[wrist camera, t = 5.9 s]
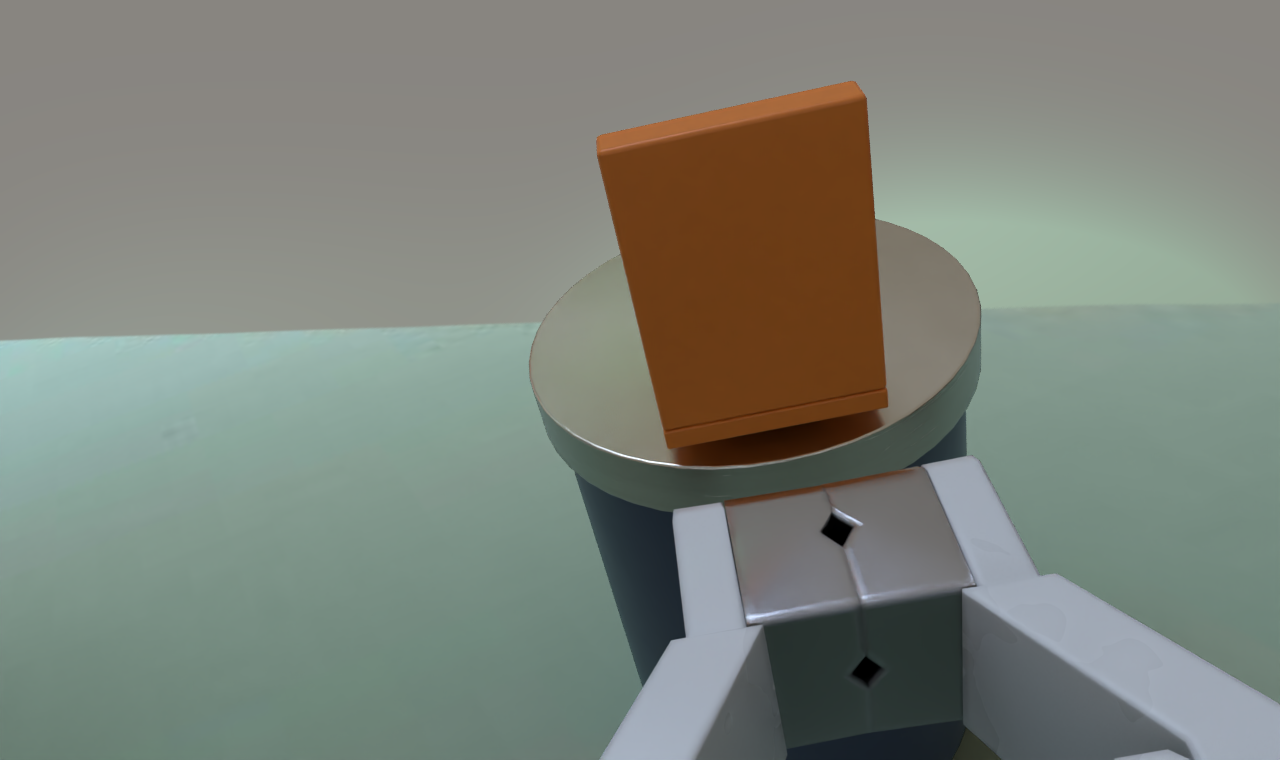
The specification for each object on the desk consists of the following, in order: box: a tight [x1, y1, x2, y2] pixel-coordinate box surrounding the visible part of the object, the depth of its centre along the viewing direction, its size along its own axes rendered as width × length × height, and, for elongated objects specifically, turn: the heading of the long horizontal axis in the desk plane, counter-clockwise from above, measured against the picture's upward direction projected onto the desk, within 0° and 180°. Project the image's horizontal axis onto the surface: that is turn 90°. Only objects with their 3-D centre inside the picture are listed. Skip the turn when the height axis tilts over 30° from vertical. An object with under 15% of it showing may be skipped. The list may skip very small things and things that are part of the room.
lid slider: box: [596, 81, 888, 449], centre depth 17 cm, size 4×4×6 cm
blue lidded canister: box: [529, 219, 981, 760], centre depth 24 cm, size 9×9×12 cm
